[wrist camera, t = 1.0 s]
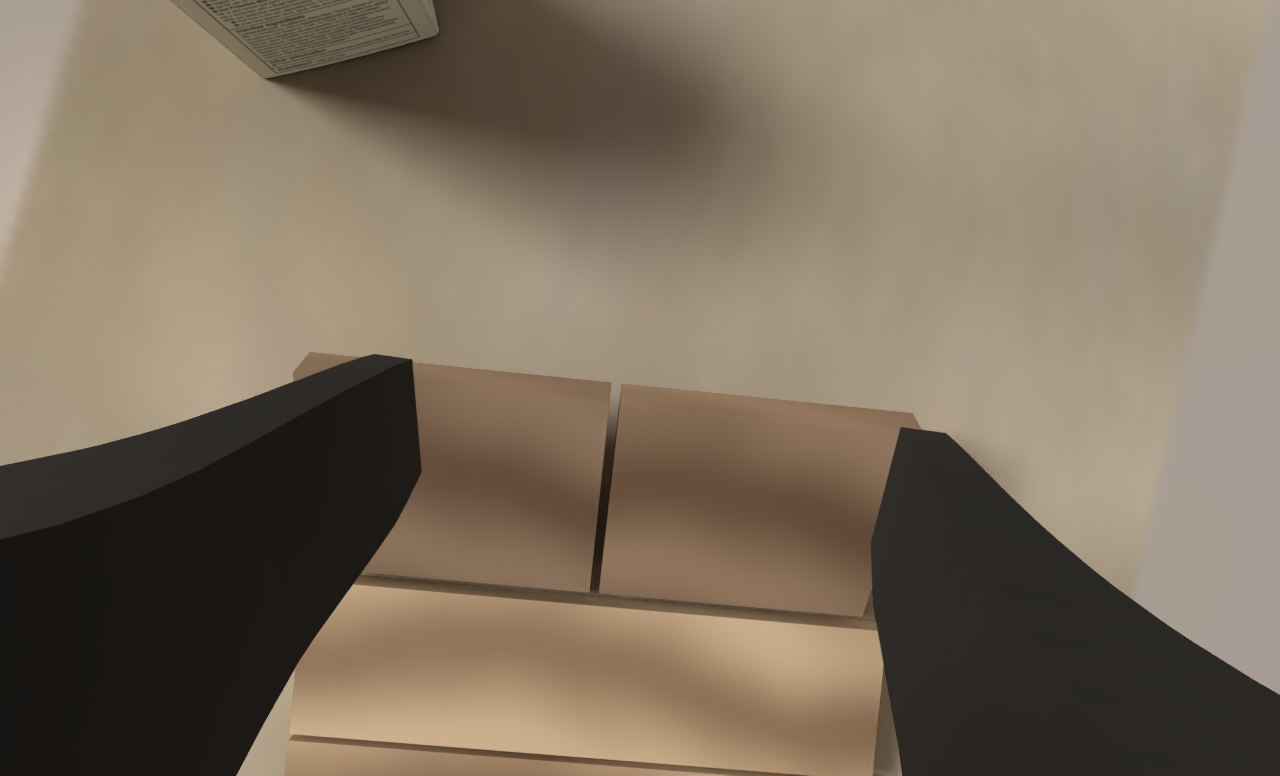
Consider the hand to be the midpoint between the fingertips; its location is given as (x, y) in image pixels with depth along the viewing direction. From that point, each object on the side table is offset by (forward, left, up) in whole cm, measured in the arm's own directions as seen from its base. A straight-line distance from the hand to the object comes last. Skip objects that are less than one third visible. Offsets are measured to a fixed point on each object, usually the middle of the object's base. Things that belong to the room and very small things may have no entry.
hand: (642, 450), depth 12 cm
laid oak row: (-11, 0, -15) cm, 18 cm away
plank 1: (-2, +5, -13) cm, 14 cm away
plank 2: (-2, -4, -13) cm, 13 cm away
